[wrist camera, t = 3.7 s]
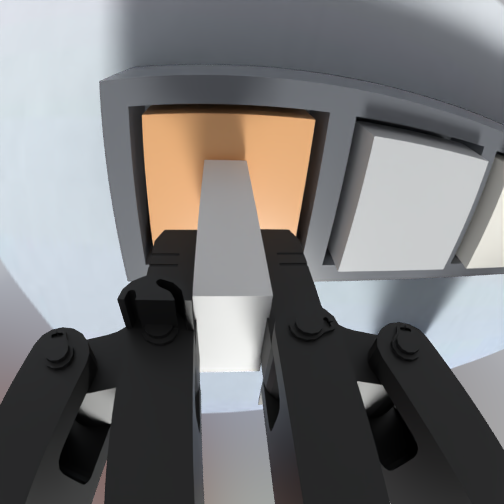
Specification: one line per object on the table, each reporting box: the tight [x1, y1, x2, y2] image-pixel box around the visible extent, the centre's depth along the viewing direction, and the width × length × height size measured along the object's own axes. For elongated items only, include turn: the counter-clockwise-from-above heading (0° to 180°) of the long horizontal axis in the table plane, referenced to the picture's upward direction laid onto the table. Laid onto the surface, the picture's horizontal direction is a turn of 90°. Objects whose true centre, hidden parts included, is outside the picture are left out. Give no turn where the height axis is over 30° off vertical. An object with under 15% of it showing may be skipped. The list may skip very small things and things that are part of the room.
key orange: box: [142, 104, 315, 246], centre depth 13 cm, size 6×6×2 cm
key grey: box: [327, 121, 489, 272], centre depth 13 cm, size 6×6×2 cm
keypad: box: [99, 64, 504, 282], centre depth 14 cm, size 24×9×4 cm, turn 85°
